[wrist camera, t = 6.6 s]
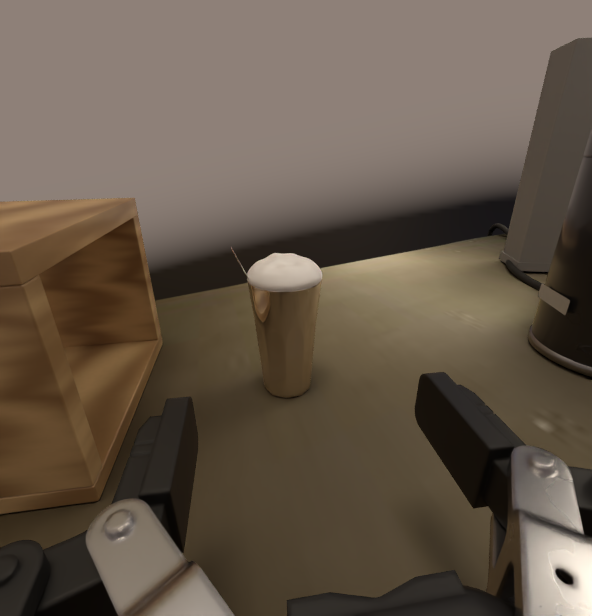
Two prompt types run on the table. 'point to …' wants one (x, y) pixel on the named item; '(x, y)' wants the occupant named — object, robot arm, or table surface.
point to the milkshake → (285, 319)
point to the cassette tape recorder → (552, 158)
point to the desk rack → (70, 345)
